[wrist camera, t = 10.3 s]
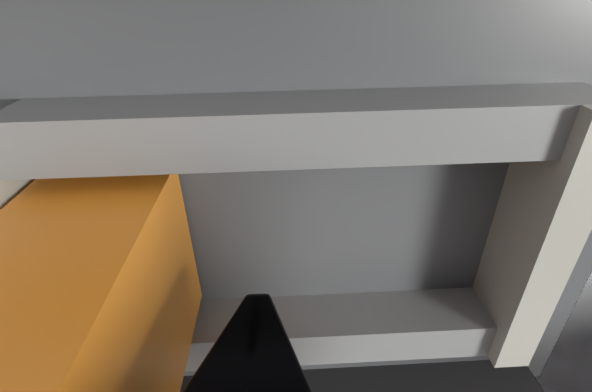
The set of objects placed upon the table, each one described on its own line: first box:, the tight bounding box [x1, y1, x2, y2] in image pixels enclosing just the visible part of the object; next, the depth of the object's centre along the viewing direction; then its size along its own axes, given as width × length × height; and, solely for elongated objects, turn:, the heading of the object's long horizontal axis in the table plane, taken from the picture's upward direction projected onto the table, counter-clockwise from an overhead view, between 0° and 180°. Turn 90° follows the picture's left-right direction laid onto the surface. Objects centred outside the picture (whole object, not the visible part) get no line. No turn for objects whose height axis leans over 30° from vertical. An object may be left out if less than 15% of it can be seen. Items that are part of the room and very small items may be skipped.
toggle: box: [0, 174, 202, 392], centre depth 7 cm, size 3×4×7 cm
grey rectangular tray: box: [0, 0, 592, 377], centre depth 10 cm, size 19×15×3 cm
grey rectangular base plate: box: [180, 360, 544, 392], centre depth 10 cm, size 17×15×1 cm
